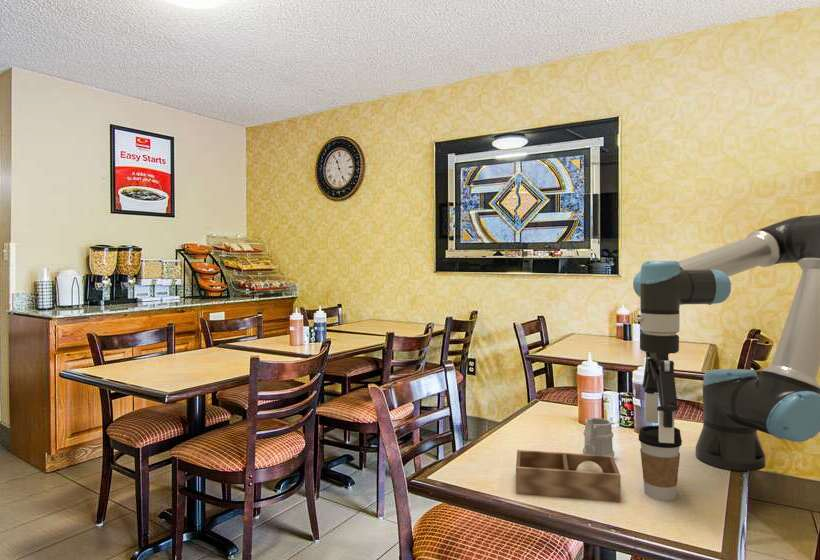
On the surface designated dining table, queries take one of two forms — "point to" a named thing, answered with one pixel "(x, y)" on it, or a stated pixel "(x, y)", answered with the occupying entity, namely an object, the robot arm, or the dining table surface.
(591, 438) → the mug
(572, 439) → the dining table surface
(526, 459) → the caddy
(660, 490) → the coffee cup
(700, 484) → the dining table surface
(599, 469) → the beige ball
